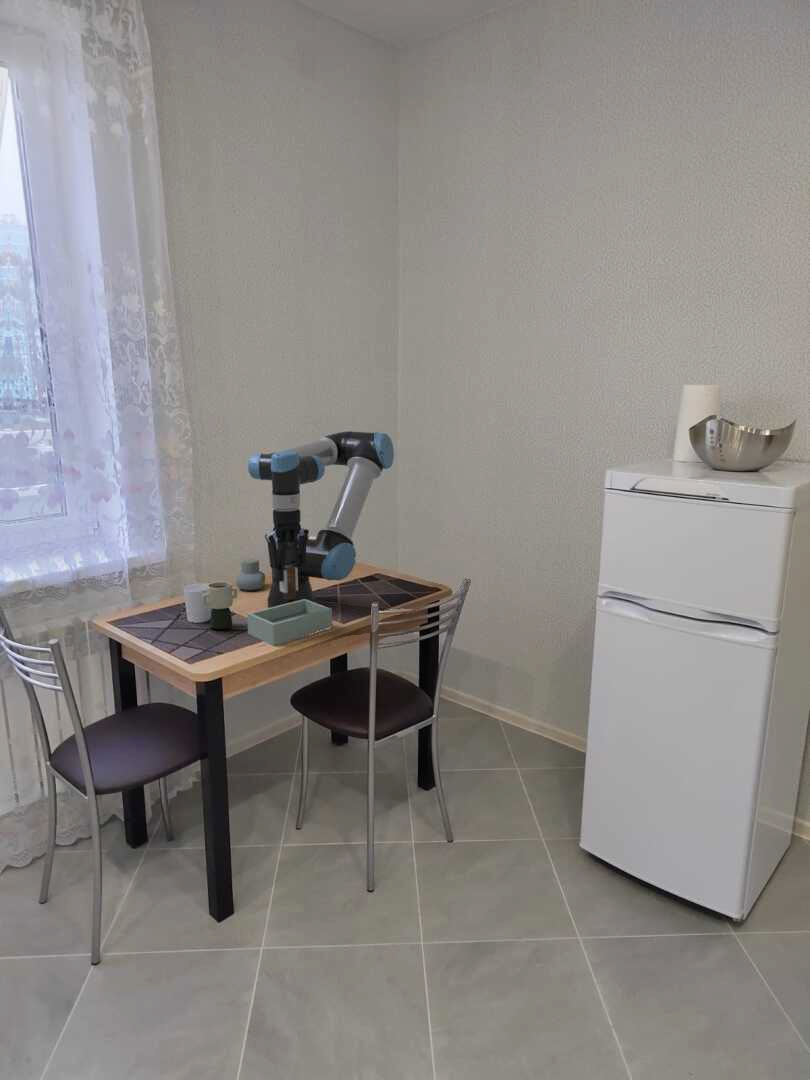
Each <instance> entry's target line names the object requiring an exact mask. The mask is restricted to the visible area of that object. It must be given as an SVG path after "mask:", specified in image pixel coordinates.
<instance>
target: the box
mask: <svg viewBox="0 0 810 1080" xmlns="http://www.w3.org/2000/svg"><path fill="white" fill-rule="evenodd" d="M246 616H247V619H246V620H247V634H248V635H250V636H252V637H254V638H256V639H259V640H260V641H262V642H265V643H266V644H268V645H270V646H272V647H274V646H275V645H276V646H279V645H282V644H286V643H288V642H292V641H295V639H296V640H299V639H302V638H304V637H303V636H306V635H309V634H312V633H315V632H317V631H320V630H324V629H326V628H329V627H332V628H333V610H332V608H330V607H327V606H325V605H322V604H319V603H317V602H316V601H315V602H312V601H309V600H307V599H303V600H299V601H295V602H291V603H287V604H283V605H279V606H275V607H271V608H268V607H267V608H263V609H259V610H256V611H252V612H247V613H246ZM309 636H310V635H309ZM301 637H302V638H301ZM306 637H307V636H306ZM298 638H299V639H298Z"/></svg>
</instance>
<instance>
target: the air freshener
mask: <svg viewBox="0 0 810 1080" xmlns="http://www.w3.org/2000/svg"><path fill="white" fill-rule="evenodd" d="M259 562H260V560H259V559H257V558H253V557H251V558H249V557H248V558H244V559H242V560H241V562H240V563H241V572H239V573H238V574H237V576H236V579H235V584H236V586H237V587H238V588H239V589H241V590H243V591H257V590H258V591H259V590H260V589H261V588H263V587H264V586H265V584H266V573H264V572H263V571H261V570H260V563H259Z"/></svg>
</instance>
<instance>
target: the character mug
mask: <svg viewBox="0 0 810 1080" xmlns="http://www.w3.org/2000/svg"><path fill="white" fill-rule="evenodd" d="M207 584H208V585H207V593H206V594H203V595H202V603H203V605H207V604H208V606H209V607H210V608H211V619H210V620H209V621H210V622H209V623H210V626H209V627H210V628H212V629H216V630H227V629H229V628H231V627H233V618H232V613H231V609H230V608H231V607H233V602H234V599H237V598H238V589H237V587H234V586H233V583H231V582H230V581H214V582H210V583H207ZM206 597H207V601H206Z"/></svg>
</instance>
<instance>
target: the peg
mask: <svg viewBox="0 0 810 1080" xmlns="http://www.w3.org/2000/svg"><path fill="white" fill-rule="evenodd" d="M284 570H287V590H288V593H284V592H283V595H284V599H294V598H296V583H295V566H293V565H286V566H285V567H284Z"/></svg>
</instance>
